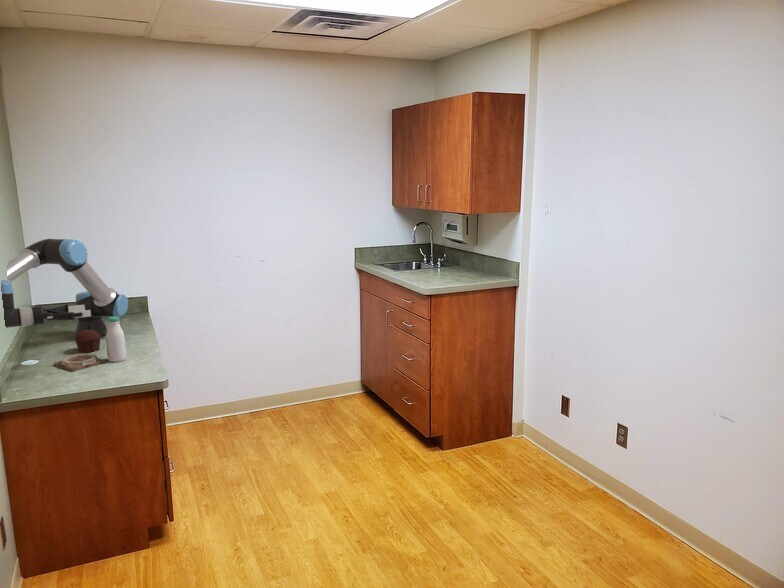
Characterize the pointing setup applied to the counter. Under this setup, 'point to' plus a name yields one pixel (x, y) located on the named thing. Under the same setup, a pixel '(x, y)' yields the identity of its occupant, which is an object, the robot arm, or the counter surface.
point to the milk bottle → (115, 341)
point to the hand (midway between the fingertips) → (87, 310)
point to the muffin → (88, 341)
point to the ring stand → (79, 362)
